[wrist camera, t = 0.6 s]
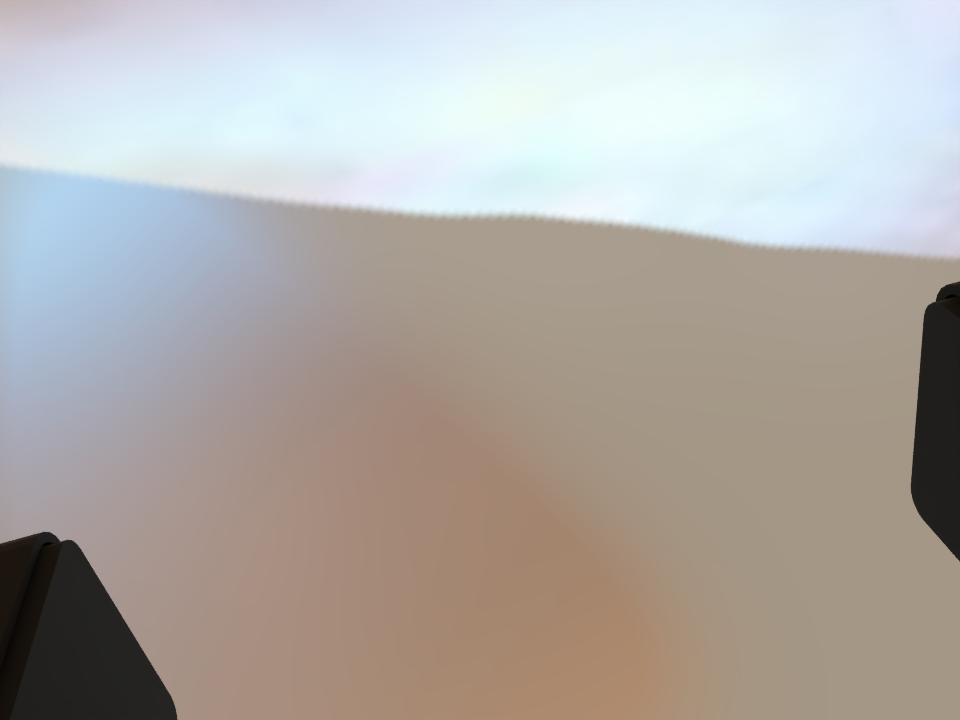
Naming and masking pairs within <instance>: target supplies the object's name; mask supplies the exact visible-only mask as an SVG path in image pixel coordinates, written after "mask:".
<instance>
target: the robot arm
mask: <svg viewBox="0 0 960 720" xmlns="http://www.w3.org/2000/svg"><path fill="white" fill-rule="evenodd" d="M911 494H912V498H913V501H914V504H915V506H916V509H917V511H918V513H919V515H920V516H921V517H922V519H923V520H924V521H925V522H926V524H927V525H928V526H929V527H930V528H931V529H932V530H933V531H934V533H935V534H936V535H937V536H938V537H939V538H940V539H941V541H942V542H943V543H944V544H945V545H946V546H947V547H948V549H949V550H950V551H951V552H952V553H953V554H954V555H955V556H956V558H958V560H959V561H960V282H956V283H952V284H949V285H946V286H945V287H943V288H941V290H940V291H939V293H938V295H937V298H936V302H933V303H931V304H930V305H928V307H927V308H926V310H925V314H924V323H923V336H922V348H921V362H920V374H919V388H918V400H917V413H916V426H915V439H914V452H913V465H912V477H911ZM0 720H177V714H176V709H175V705H174V702H173V700H172V698H171V696H170V694H169V692H168V691H167V689H166V687H165V686H164V684H163V682H162V681H161V679H160V678H159V676H158V675H157V673H156V671H155V669H154V668H153V666H152V665H151V663H150V661H149V660H148V658H147V656H146V655H145V653H144V652H143V650H142V648H141V647H140V645H139V643H138V642H137V640H136V638H135V637H134V635H133V634H132V632H131V630H130V629H129V627H128V626H127V624H126V622H125V621H124V619H123V618H122V616H121V614H120V612H119V611H118V609H117V607H116V606H115V604H114V603H113V601H112V599H111V598H110V596H109V594H108V593H107V592H106V590H105V588H104V586H103V585H102V583H101V581H100V580H99V578H98V577H97V575H96V574H95V572H94V570H93V568H92V567H91V565H90V563H89V562H88V560H87V559H86V557H85V555H84V554H83V552H82V550H81V549H80V548H79V546H78V545H77V544H76V543H75V542H74V541H72V540H65V541H62V542H60V541H59V539H58V538H57V537H56V536H55V535H53V534H52V533H50V532H42V533H38V534H34V535H31V536H27V537H23V538H20V539H16V540H12V541H9V542H5V543H2V544H0Z"/></svg>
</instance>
